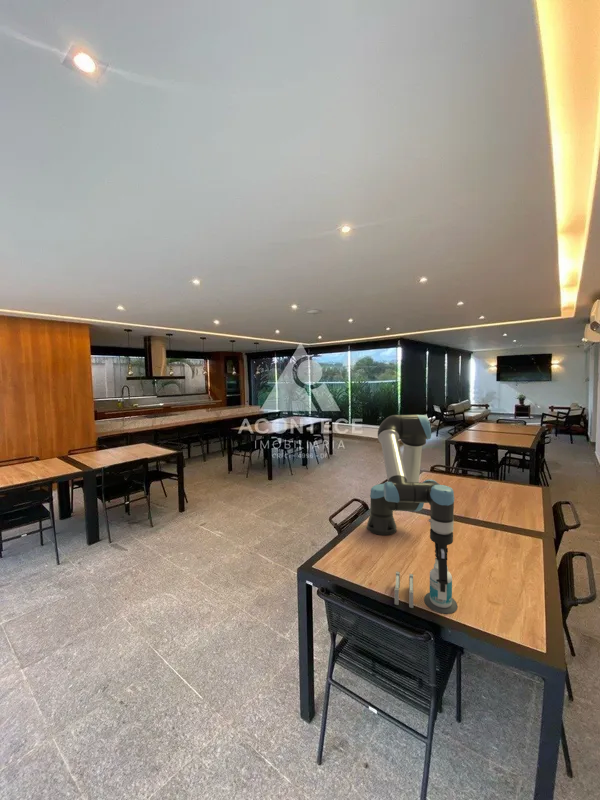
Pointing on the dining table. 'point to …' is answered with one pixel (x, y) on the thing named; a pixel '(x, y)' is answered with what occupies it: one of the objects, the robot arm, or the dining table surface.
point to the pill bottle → (434, 588)
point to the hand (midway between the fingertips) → (440, 586)
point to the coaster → (439, 609)
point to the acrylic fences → (399, 587)
